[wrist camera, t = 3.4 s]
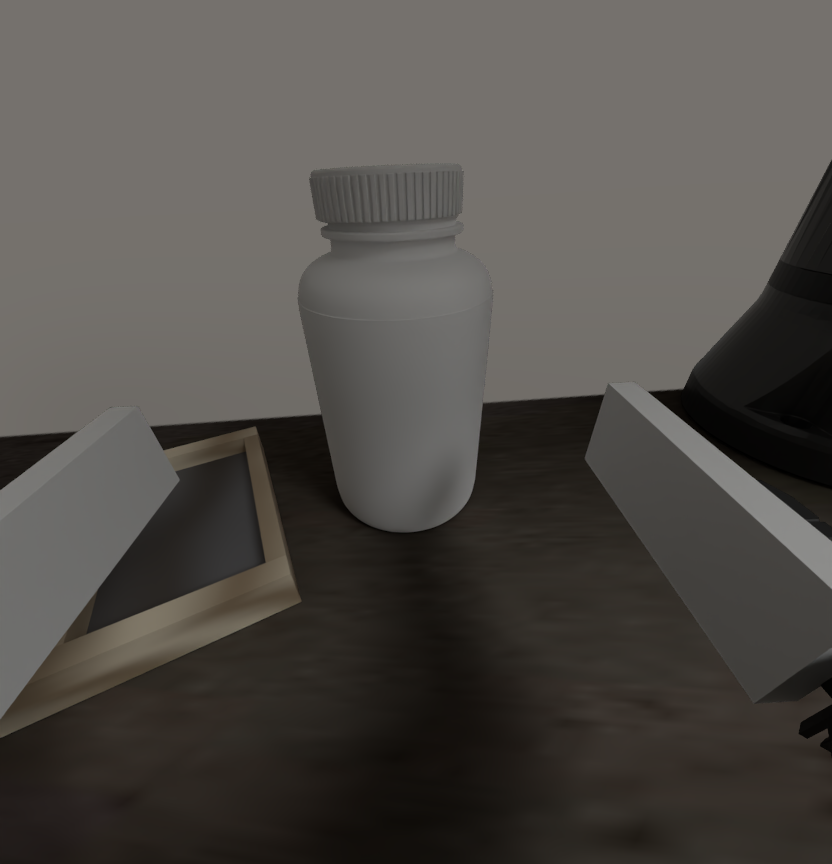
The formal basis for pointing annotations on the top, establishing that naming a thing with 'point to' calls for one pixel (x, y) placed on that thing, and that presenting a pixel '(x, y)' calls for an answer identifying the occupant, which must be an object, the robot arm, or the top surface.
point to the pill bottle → (397, 341)
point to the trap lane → (175, 579)
